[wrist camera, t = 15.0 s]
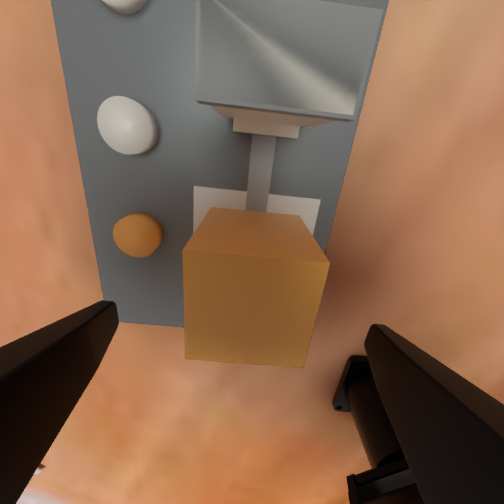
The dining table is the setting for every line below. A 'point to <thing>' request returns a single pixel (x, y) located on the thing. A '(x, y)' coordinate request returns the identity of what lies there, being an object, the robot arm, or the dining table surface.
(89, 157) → the breaker panel
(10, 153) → the dining table surface
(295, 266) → the mustard yellow cube
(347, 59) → the lever
